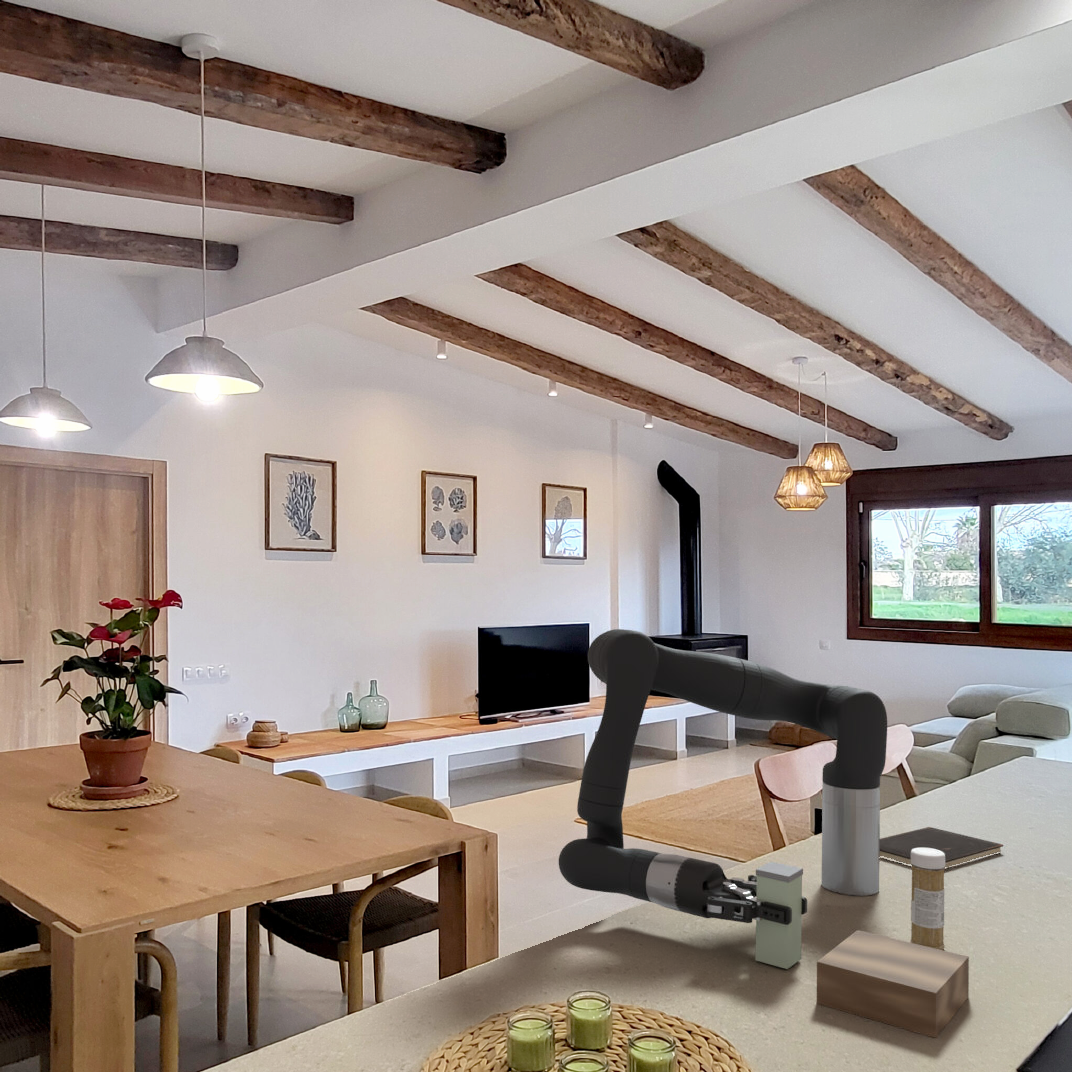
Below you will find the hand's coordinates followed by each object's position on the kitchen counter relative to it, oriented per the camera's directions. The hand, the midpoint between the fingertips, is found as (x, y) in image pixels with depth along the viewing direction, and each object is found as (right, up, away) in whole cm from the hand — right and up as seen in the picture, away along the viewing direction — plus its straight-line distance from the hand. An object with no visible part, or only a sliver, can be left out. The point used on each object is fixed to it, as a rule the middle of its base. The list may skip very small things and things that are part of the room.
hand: (798, 911), depth 132 cm
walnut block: (+9, -7, -10) cm, 15 cm away
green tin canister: (-2, -7, +1) cm, 8 cm away
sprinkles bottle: (+20, -8, +8) cm, 23 cm away
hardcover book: (+40, -11, +56) cm, 69 cm away
